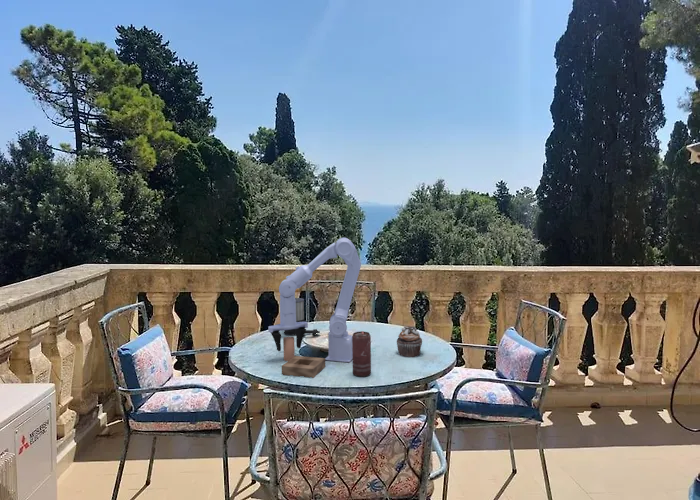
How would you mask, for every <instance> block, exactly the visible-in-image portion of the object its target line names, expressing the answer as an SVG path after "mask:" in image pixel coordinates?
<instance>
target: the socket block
mask: <svg viewBox="0 0 700 500" xmlns="http://www.w3.org/2000/svg"><path fill="white" fill-rule="evenodd" d="M325 358H326V357H325ZM325 358H324V357H313V356H303V355H301V356H300V355H295V356H294V357H293V358H292V359H290V360H289V361H285V363H283V364H282V365H281V375H282V374H283V375H282V376H290V375H293V376H292V377H300V376H304V377H303V378H310V377H312V378H311V379H314V378H315V377H316V376H318V375H319V373H320V372H321V371H323V370H324V369H325V368H326V360H325Z"/></svg>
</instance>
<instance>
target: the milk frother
mask: <svg viewBox="0 0 700 500" xmlns="http://www.w3.org/2000/svg"><path fill="white" fill-rule="evenodd" d="M295 300H296V322H305V311H304V305H305V304H304V301H305V299H304V298H302V297H301V298H300V297H295ZM316 333H317V334H321V331H320V330H318V329H317V328H316V329H315V328H314V329H311V330H310V329H308V330H307V329H306V333H305V334H308V335H309V334H312V335H313V334H316ZM283 334H284V335H287V336H296V330H295V329H291V330H283Z"/></svg>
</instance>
